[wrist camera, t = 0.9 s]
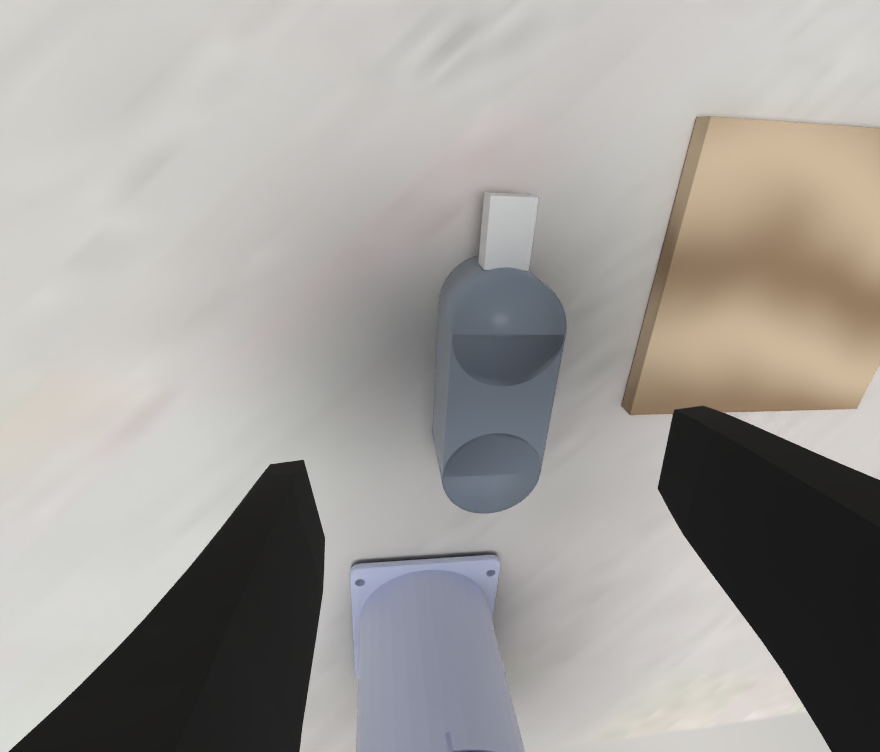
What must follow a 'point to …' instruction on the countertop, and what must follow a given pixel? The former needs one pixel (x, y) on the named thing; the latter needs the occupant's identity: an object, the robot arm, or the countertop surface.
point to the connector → (496, 363)
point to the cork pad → (766, 273)
